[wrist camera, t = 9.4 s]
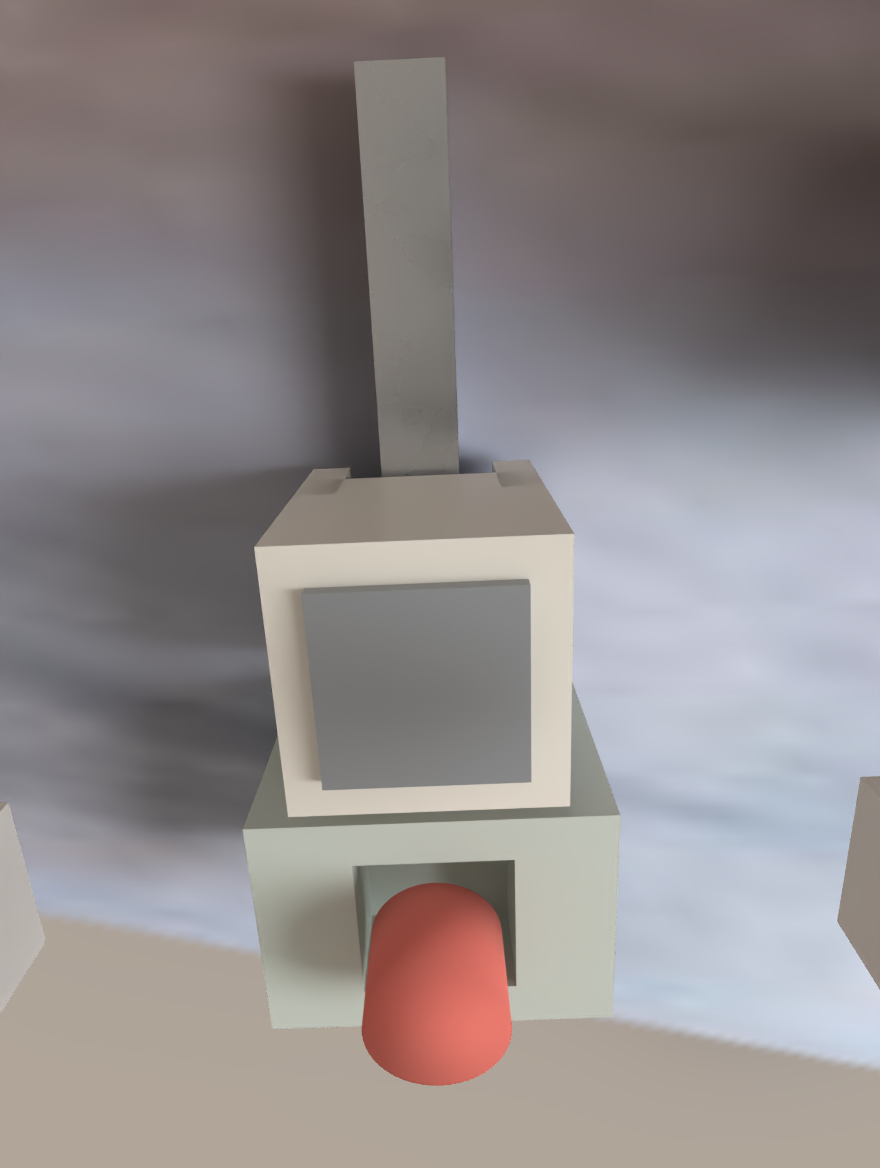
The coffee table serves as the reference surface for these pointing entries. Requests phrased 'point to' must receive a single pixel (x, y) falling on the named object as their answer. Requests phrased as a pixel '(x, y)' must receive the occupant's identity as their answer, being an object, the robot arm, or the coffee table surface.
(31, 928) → the robot arm
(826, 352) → the coffee table surface
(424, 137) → the rail
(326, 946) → the end cabinet
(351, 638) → the cream and grey block
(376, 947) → the button
